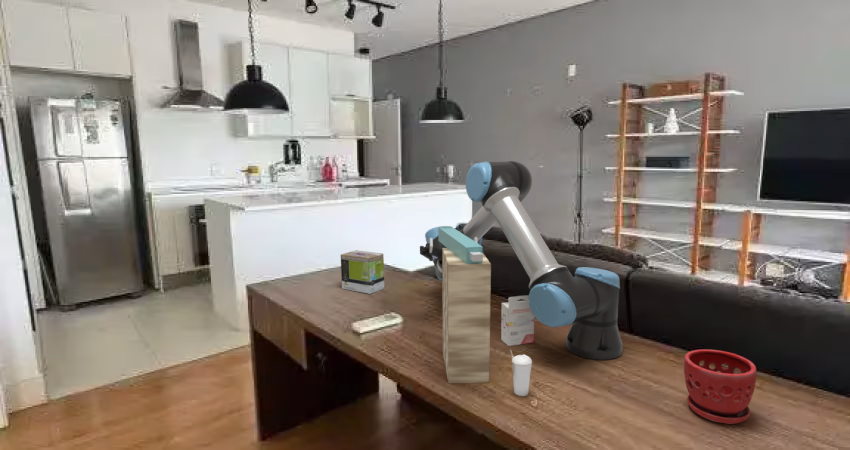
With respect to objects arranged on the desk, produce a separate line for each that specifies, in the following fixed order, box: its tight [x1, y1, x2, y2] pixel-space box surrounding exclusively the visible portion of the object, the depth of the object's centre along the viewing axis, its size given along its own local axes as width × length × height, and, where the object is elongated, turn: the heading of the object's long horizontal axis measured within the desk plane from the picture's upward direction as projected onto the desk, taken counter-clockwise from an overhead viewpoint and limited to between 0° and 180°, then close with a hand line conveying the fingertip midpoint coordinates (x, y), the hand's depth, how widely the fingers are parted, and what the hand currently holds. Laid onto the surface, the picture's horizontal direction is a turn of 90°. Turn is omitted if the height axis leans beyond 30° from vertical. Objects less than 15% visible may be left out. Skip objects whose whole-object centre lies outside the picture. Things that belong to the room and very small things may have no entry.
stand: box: [441, 248, 492, 384], centre depth 122 cm, size 18×10×30 cm, turn 3°
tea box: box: [340, 249, 385, 295], centre depth 192 cm, size 15×10×15 cm, turn 58°
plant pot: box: [683, 348, 757, 425], centre depth 102 cm, size 13×13×12 cm
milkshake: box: [509, 349, 533, 397], centre depth 111 cm, size 4×5×10 cm
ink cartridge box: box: [500, 294, 535, 347], centre depth 139 cm, size 9×5×15 cm, turn 105°
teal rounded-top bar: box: [437, 225, 484, 264], centre depth 125 cm, size 33×4×4 cm, turn 12°
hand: (453, 241), depth 142 cm, fingers open, 13 cm apart
